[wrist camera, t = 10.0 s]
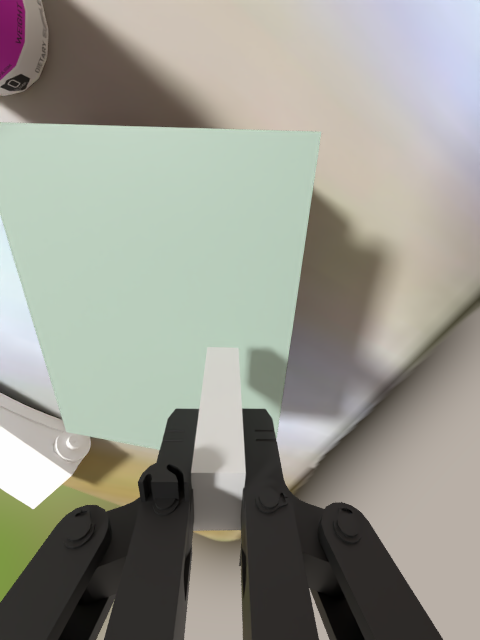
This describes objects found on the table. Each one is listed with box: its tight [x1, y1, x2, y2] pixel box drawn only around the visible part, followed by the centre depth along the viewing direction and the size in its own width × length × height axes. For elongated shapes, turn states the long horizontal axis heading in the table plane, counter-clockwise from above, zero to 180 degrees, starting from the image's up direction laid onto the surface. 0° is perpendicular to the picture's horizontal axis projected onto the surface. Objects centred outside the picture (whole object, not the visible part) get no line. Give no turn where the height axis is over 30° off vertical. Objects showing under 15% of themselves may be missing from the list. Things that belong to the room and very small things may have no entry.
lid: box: [0, 122, 321, 450], centre depth 18 cm, size 21×16×1 cm
